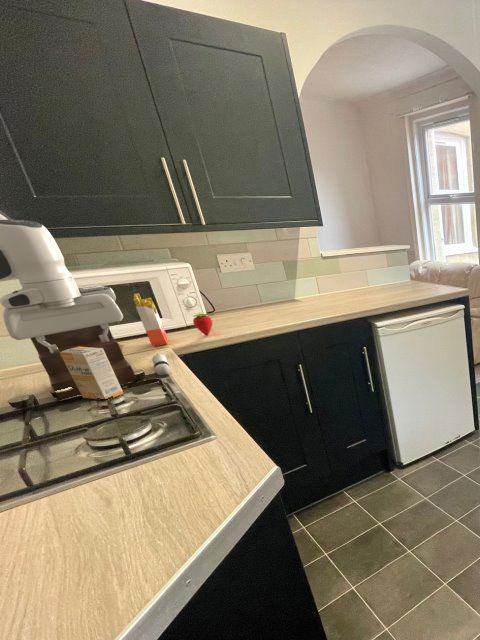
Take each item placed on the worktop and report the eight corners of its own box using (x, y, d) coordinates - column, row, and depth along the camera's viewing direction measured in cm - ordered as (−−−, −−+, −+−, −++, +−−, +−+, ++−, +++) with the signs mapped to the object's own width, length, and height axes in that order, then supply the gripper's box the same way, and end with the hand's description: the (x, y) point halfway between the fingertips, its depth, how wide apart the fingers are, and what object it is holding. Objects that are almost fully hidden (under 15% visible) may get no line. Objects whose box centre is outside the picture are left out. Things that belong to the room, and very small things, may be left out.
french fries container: (169, 338, 159) (150, 291, 151) (168, 345, 150) (148, 295, 143) (154, 341, 156) (134, 293, 149) (152, 348, 148) (131, 297, 141)
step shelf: (60, 401, 109) (24, 335, 101) (55, 384, 120) (22, 323, 113) (138, 381, 119) (110, 320, 112) (126, 367, 131) (101, 310, 124)
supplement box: (81, 399, 110) (57, 352, 104) (102, 391, 114) (79, 345, 108) (105, 401, 108) (81, 353, 102) (124, 393, 112) (103, 346, 107)
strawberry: (214, 331, 165) (206, 306, 161) (218, 335, 160) (209, 309, 156) (196, 335, 162) (187, 309, 158) (200, 338, 156) (190, 312, 152)
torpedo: (175, 374, 123) (167, 353, 121) (155, 379, 121) (146, 357, 118) (169, 359, 136) (162, 340, 133) (151, 363, 133) (143, 344, 130)
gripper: (108, 283, 109) (131, 333, 114) (-10, 299, 95) (23, 356, 101) (112, 285, 105) (135, 337, 110) (-10, 302, 91) (24, 361, 97)
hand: (81, 346), depth 105 cm, fingers open, 8 cm apart
